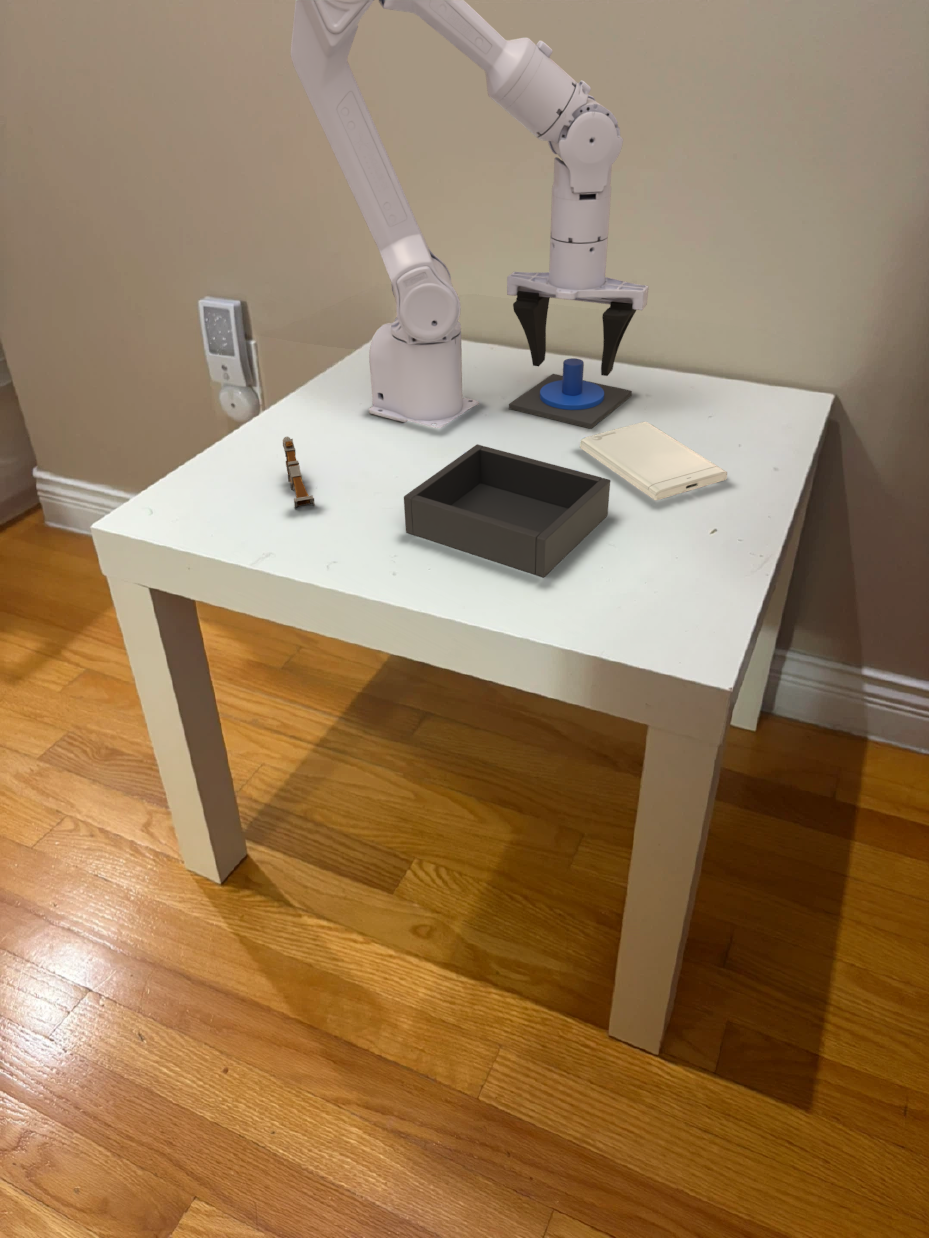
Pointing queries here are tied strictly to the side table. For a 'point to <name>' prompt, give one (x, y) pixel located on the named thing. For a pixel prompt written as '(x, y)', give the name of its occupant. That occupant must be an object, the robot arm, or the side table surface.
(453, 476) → the tray
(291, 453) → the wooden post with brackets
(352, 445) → the side table surface
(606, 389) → the mat
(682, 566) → the side table surface
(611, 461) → the hard drive
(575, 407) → the lid
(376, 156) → the robot arm
